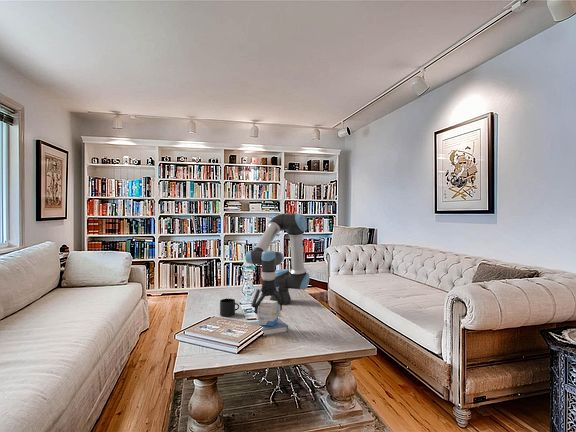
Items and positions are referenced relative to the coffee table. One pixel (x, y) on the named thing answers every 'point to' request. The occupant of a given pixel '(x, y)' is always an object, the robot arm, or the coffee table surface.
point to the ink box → (268, 312)
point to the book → (273, 327)
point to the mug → (227, 307)
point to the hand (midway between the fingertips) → (268, 317)
